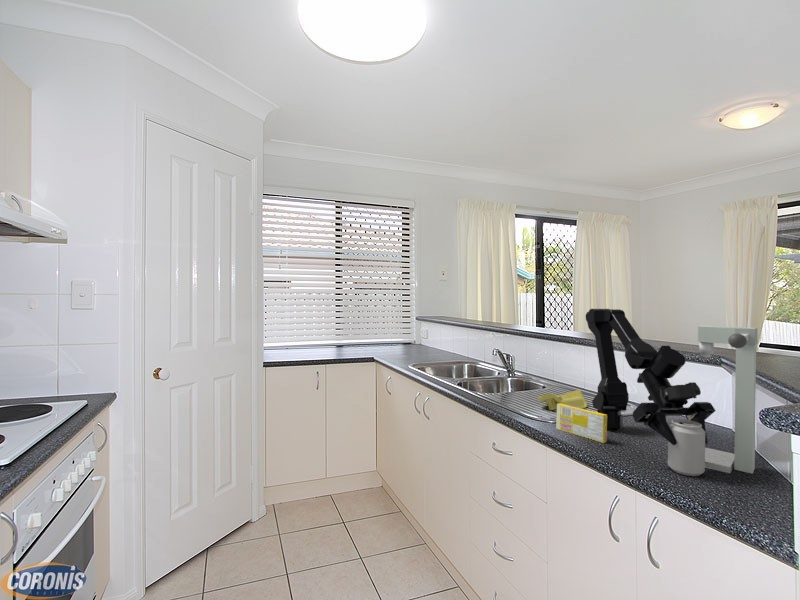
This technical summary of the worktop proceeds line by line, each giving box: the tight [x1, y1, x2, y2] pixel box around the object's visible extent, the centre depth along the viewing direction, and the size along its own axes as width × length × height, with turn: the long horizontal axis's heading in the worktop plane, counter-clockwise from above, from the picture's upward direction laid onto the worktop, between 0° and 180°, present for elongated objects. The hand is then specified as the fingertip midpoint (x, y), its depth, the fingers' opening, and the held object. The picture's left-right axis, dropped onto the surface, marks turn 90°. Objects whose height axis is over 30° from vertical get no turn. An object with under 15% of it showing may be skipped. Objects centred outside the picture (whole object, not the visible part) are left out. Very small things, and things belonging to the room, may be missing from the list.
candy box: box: [555, 403, 608, 444], centre depth 129 cm, size 16×2×8 cm, turn 33°
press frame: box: [697, 325, 758, 475], centre depth 101 cm, size 11×21×35 cm, turn 135°
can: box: [667, 418, 706, 477], centre depth 102 cm, size 8×8×12 cm
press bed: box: [705, 447, 734, 474], centre depth 109 cm, size 12×12×2 cm
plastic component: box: [537, 389, 588, 411], centre depth 160 cm, size 20×7×10 cm
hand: (690, 443), depth 101 cm, fingers closed on can, 7 cm apart
